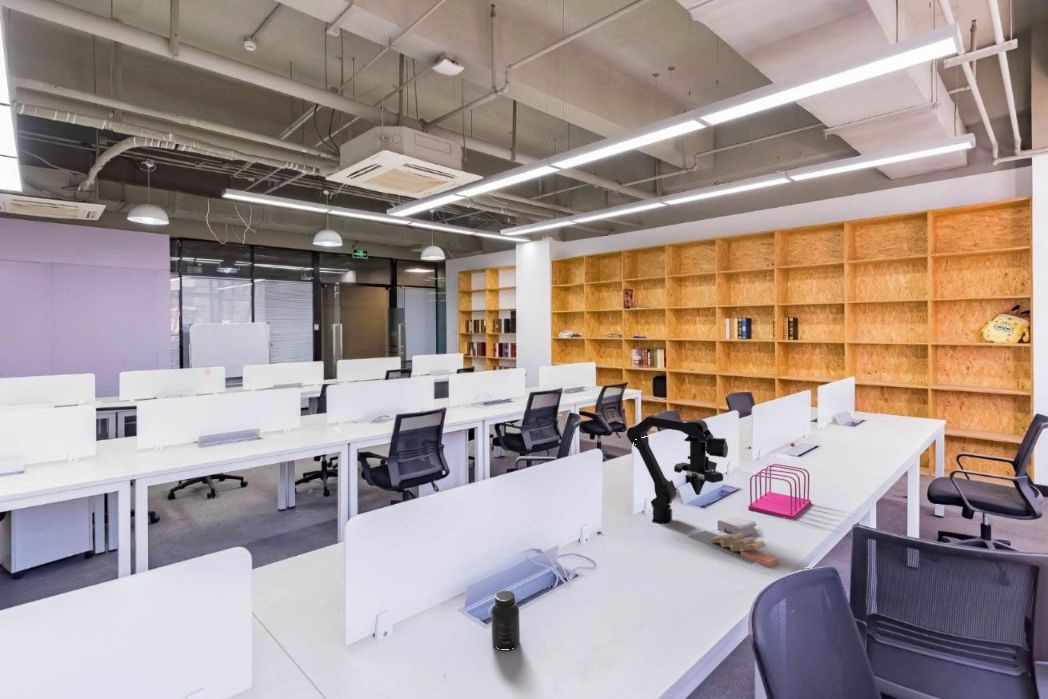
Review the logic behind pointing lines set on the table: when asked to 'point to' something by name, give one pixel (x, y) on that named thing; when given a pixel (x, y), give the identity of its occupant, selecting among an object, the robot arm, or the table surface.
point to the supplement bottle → (505, 621)
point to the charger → (736, 526)
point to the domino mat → (717, 545)
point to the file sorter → (779, 495)
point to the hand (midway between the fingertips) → (697, 494)
